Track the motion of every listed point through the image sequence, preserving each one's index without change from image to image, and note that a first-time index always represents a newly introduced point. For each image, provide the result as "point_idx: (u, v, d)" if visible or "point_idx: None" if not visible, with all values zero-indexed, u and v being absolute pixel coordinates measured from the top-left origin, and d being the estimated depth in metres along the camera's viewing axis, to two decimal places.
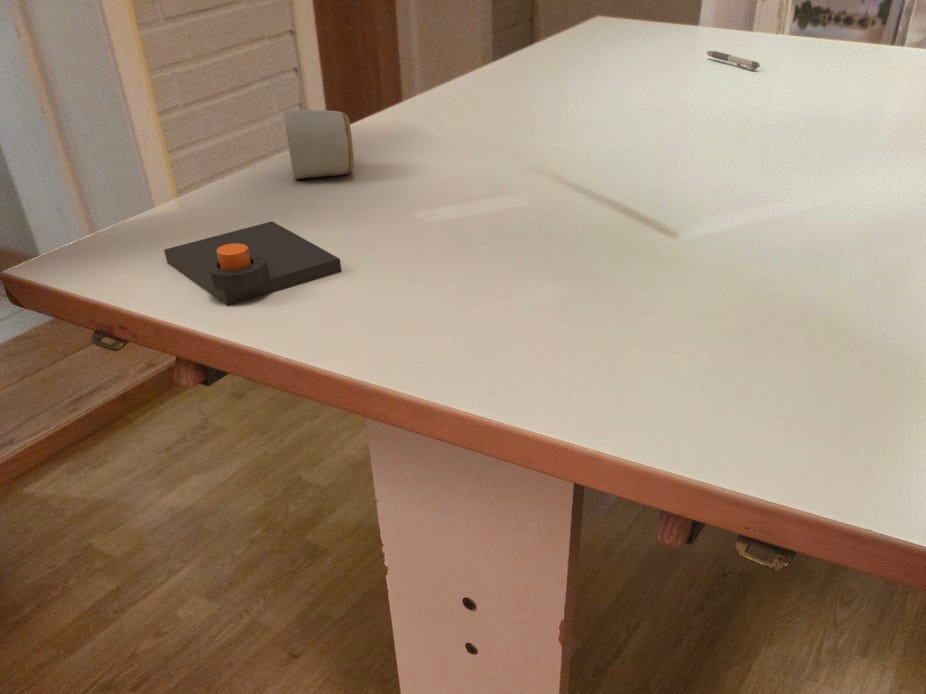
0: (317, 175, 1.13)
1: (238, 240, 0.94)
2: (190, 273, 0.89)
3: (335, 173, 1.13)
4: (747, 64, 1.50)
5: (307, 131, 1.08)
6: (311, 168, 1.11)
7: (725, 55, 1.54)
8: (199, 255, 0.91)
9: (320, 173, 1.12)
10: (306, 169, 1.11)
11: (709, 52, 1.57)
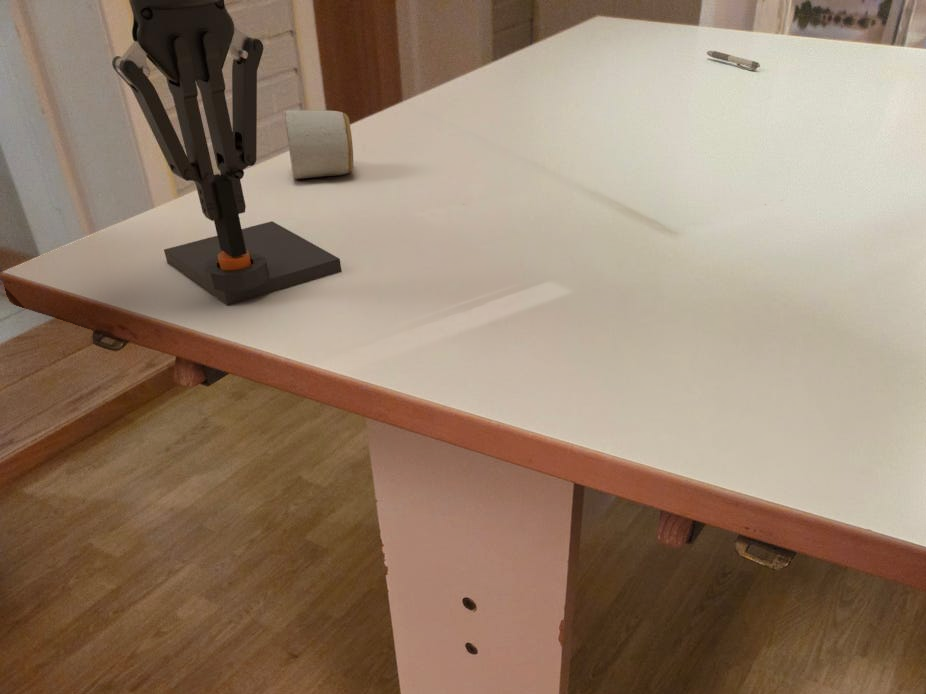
0: (317, 175, 1.13)
1: None
2: (190, 273, 0.89)
3: (335, 173, 1.13)
4: (747, 64, 1.50)
5: (307, 131, 1.08)
6: (311, 168, 1.11)
7: (725, 55, 1.54)
8: (199, 255, 0.91)
9: (320, 173, 1.12)
10: (306, 169, 1.11)
11: (709, 52, 1.57)
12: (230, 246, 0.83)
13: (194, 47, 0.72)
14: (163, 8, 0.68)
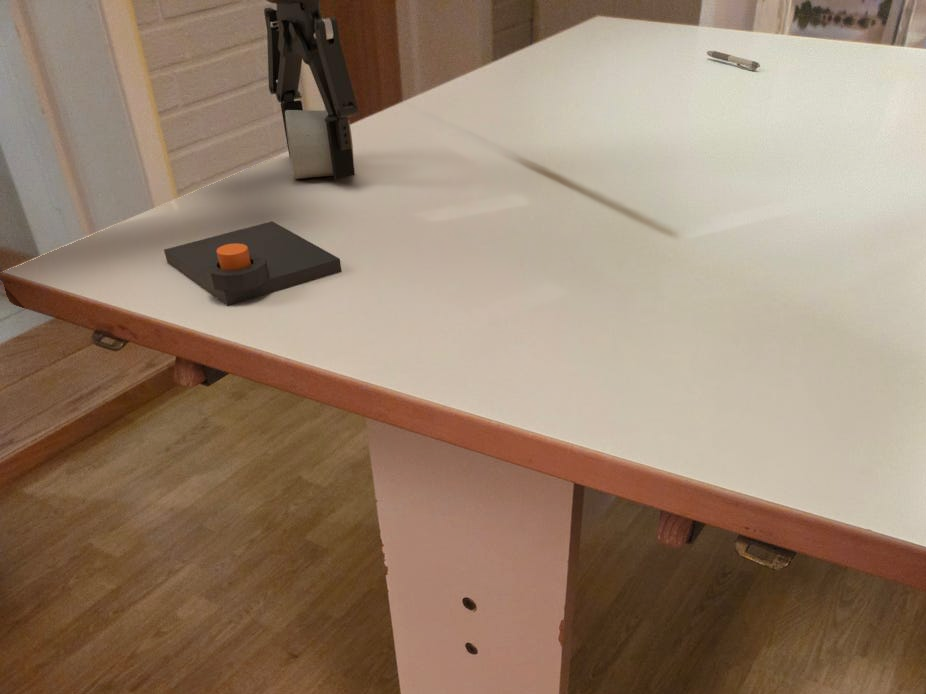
0: (317, 175, 1.13)
1: (238, 240, 0.94)
2: (190, 273, 0.89)
3: None
4: (747, 64, 1.50)
5: (307, 131, 1.08)
6: (311, 168, 1.11)
7: (725, 55, 1.54)
8: (199, 255, 0.91)
9: (320, 173, 1.12)
10: (306, 169, 1.11)
11: (709, 52, 1.57)
12: (288, 150, 1.17)
13: None
14: None
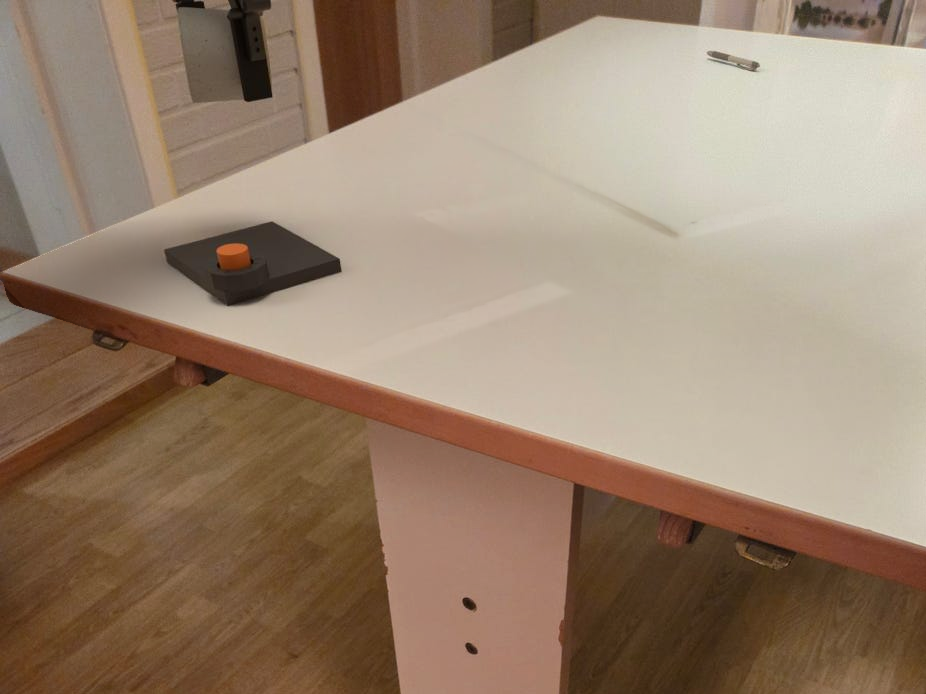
0: (224, 97, 0.85)
1: (238, 240, 0.94)
2: (190, 273, 0.89)
3: None
4: (747, 64, 1.50)
5: (206, 35, 0.81)
6: (215, 87, 0.84)
7: (725, 55, 1.54)
8: (199, 255, 0.91)
9: (227, 95, 0.85)
10: (208, 88, 0.84)
11: (709, 52, 1.57)
12: None
13: None
14: None
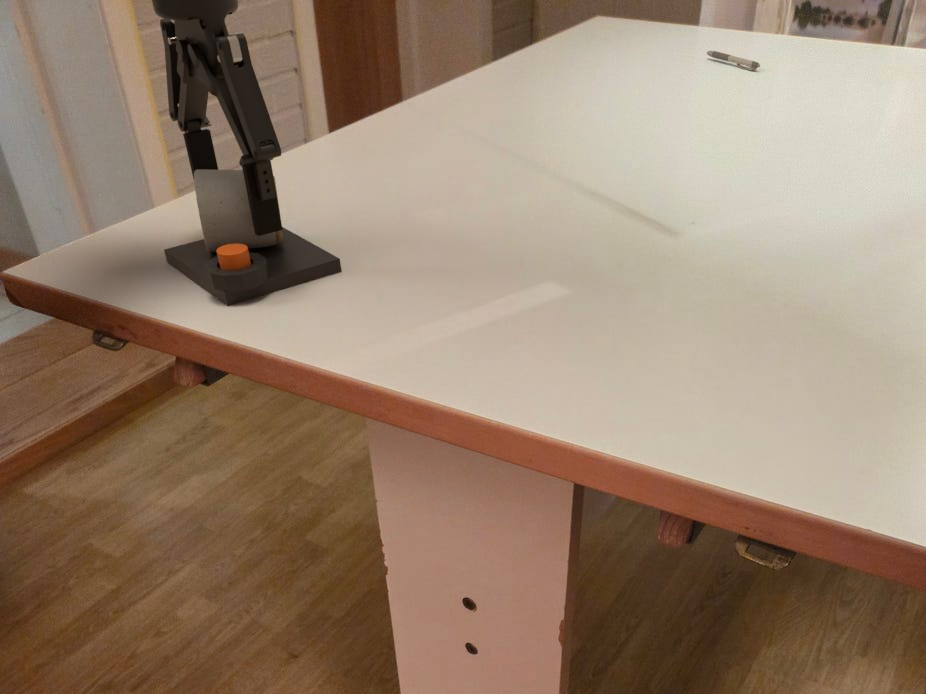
0: None
1: None
2: (190, 273, 0.89)
3: (260, 246, 0.91)
4: (747, 64, 1.50)
5: (221, 197, 0.86)
6: (229, 241, 0.89)
7: (725, 55, 1.54)
8: (199, 255, 0.91)
9: None
10: (222, 242, 0.89)
11: (709, 52, 1.57)
12: None
13: None
14: None
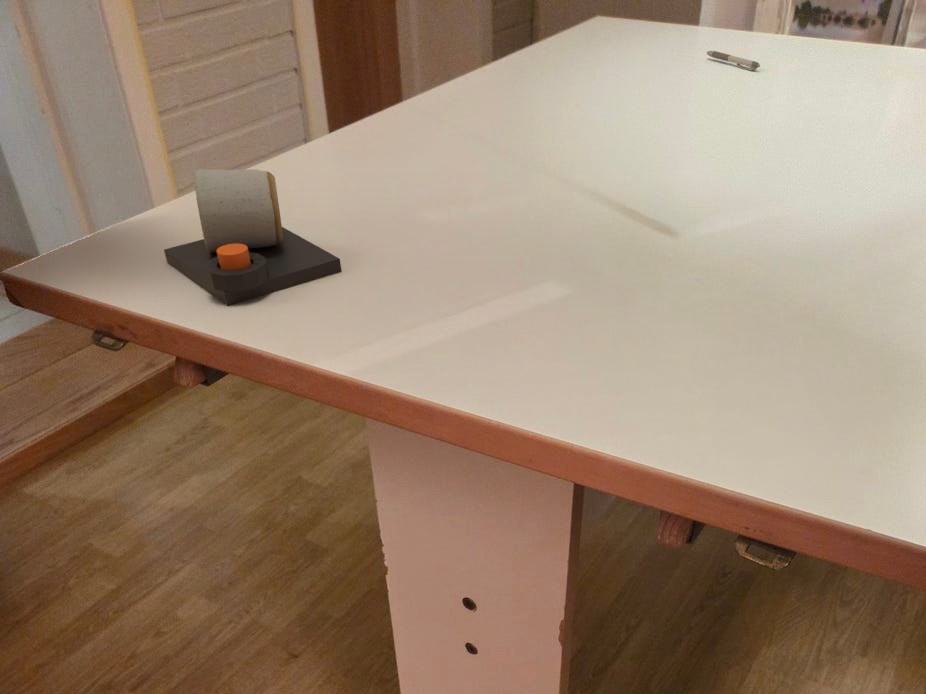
0: None
1: None
2: (190, 273, 0.89)
3: (260, 246, 0.91)
4: (747, 64, 1.50)
5: (221, 197, 0.86)
6: (229, 241, 0.89)
7: (725, 55, 1.54)
8: (199, 255, 0.91)
9: None
10: (222, 242, 0.89)
11: (709, 52, 1.57)
12: None
13: None
14: None
